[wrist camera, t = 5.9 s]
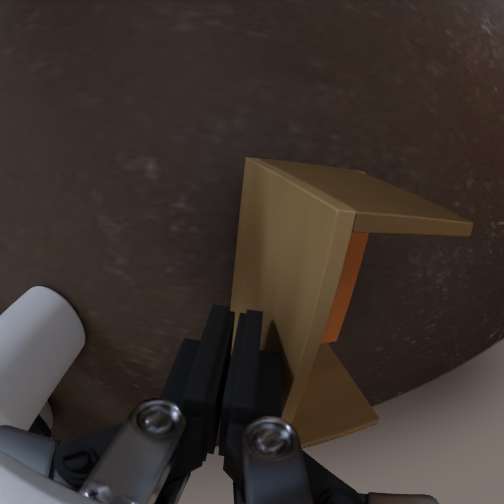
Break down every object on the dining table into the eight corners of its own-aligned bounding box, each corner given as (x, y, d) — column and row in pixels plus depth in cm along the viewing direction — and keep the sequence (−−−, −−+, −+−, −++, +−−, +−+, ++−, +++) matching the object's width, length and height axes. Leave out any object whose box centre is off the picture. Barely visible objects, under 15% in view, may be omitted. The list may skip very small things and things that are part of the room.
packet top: (275, 208, 12) (286, 218, 11) (357, 212, 13) (372, 221, 12) (256, 336, 15) (263, 352, 13) (326, 327, 16) (336, 341, 15)
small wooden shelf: (245, 157, 12) (338, 209, 6) (360, 170, 14) (481, 224, 8) (227, 341, 16) (266, 457, 10) (321, 331, 18) (384, 421, 12)
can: (94, 314, 19) (4, 441, 8) (81, 361, 22) (17, 466, 11) (31, 268, 18) (-73, 363, 7) (26, 320, 21) (-49, 408, 10)
